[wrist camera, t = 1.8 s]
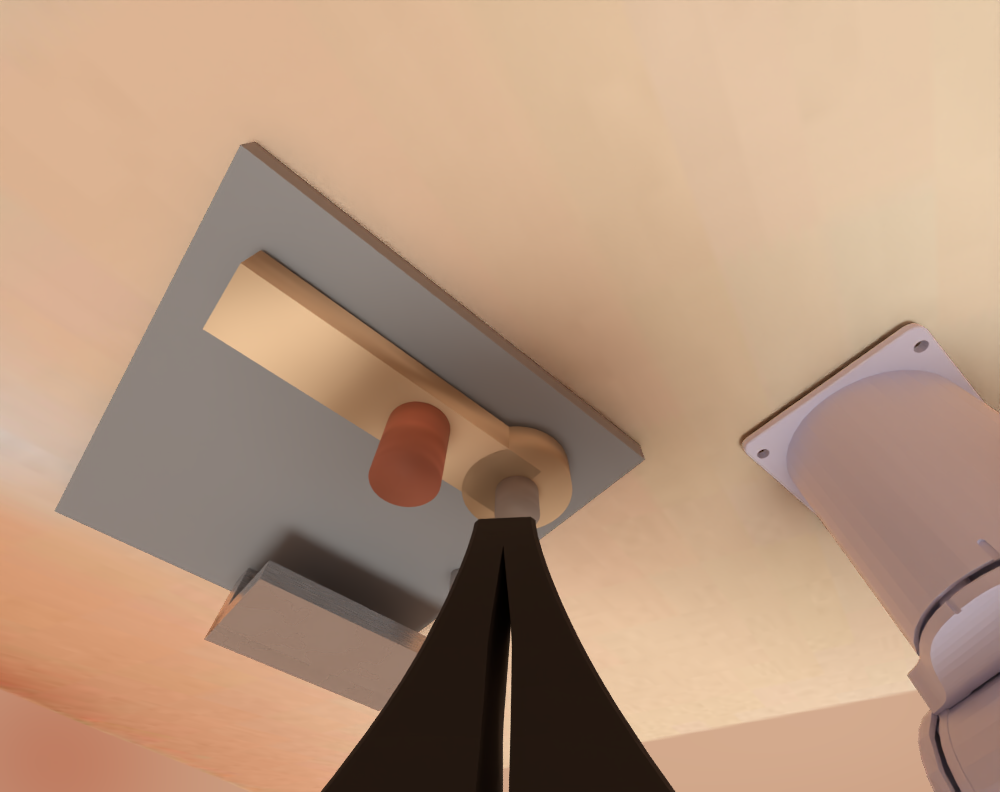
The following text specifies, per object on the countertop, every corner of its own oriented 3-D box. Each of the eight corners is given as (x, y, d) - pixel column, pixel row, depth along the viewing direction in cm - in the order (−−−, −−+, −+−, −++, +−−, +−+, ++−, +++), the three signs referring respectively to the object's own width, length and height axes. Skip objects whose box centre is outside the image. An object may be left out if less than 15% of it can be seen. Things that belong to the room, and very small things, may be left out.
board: (639, 445, 22) (662, 508, 19) (385, 643, 31) (370, 712, 28) (255, 141, 16) (186, 155, 13) (70, 496, 25) (0, 561, 21)
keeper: (452, 591, 28) (444, 665, 25) (394, 637, 31) (378, 710, 27) (296, 507, 25) (259, 578, 21) (245, 566, 27) (204, 639, 24)
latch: (590, 465, 22) (607, 545, 18) (520, 521, 23) (522, 604, 20) (271, 231, 16) (199, 274, 13) (215, 327, 18) (138, 389, 15)
